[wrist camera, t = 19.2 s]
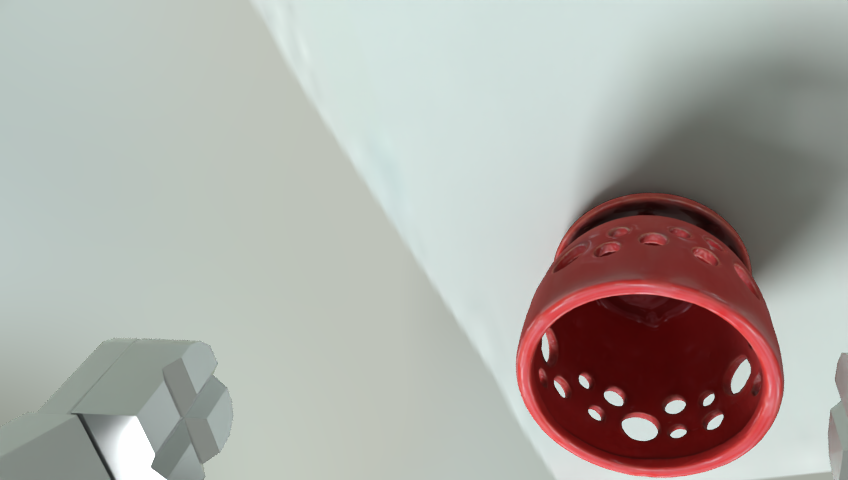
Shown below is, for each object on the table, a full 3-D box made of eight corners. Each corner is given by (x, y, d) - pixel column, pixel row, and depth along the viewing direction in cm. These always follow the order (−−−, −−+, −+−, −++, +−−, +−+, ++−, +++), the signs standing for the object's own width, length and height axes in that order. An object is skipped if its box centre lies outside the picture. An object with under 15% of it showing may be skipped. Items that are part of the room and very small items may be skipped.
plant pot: (718, 139, 42) (745, 251, 32) (777, 319, 47) (816, 463, 37) (505, 206, 47) (473, 320, 38) (579, 361, 53) (568, 498, 43)
